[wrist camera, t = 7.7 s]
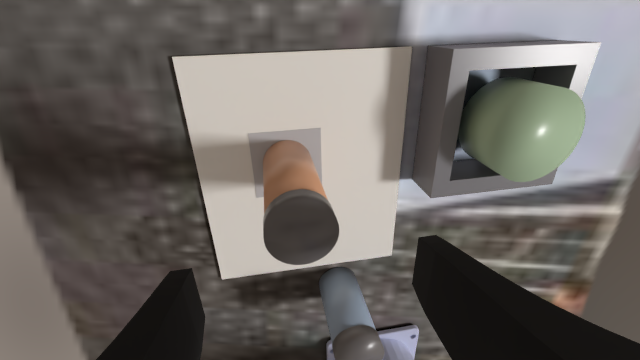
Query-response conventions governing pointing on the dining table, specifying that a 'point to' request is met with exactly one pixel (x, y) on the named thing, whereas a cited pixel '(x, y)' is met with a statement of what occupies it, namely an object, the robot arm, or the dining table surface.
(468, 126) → the button
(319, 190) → the marker terracotta
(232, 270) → the paper
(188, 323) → the robot arm
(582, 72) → the button housing
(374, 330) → the marker slate
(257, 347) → the dining table surface
